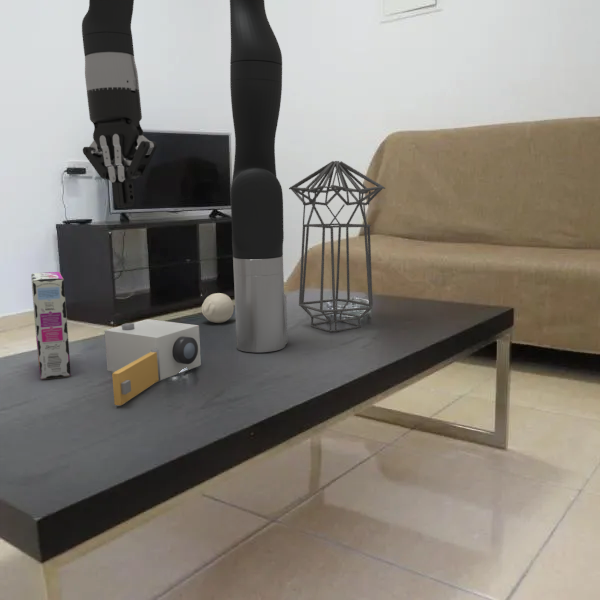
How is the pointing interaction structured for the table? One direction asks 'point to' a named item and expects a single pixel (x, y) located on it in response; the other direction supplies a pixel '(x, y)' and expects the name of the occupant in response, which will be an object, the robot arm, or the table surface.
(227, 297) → the cream round ball
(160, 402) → the table surface
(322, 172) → the geometric lantern
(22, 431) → the table surface
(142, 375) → the side door
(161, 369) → the block
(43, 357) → the candy bar box
